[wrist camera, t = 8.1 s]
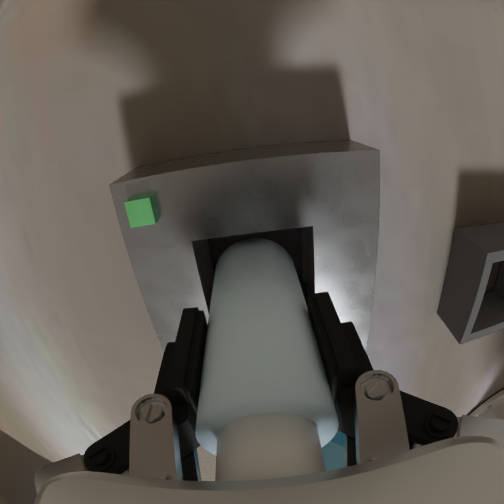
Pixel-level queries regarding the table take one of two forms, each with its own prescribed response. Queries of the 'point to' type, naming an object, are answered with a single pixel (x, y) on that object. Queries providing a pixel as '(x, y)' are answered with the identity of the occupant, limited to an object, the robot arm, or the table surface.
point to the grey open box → (474, 283)
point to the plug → (262, 370)
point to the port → (253, 222)
